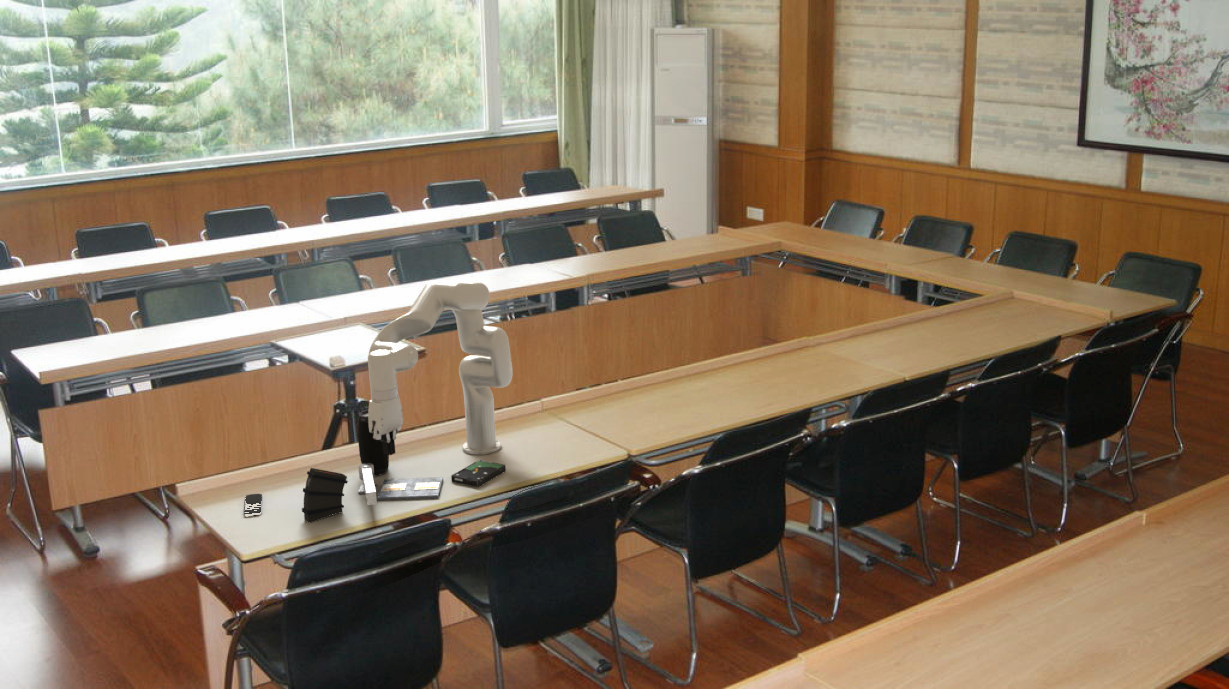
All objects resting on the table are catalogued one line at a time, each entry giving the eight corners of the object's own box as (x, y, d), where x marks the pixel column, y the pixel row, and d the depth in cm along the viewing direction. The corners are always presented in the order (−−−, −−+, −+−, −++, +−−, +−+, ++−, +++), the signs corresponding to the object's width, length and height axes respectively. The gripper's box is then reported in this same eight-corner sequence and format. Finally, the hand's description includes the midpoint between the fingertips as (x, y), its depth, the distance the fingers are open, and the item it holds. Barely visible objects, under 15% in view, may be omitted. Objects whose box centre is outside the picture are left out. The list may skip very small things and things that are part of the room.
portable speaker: (395, 468, 379) (391, 410, 373) (377, 479, 371) (372, 419, 366) (374, 464, 383) (369, 406, 377) (355, 474, 375) (350, 415, 369)
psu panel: (384, 482, 368) (384, 478, 368) (443, 480, 369) (442, 476, 368) (377, 500, 355) (376, 496, 355) (438, 498, 355) (437, 494, 355)
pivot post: (361, 487, 365) (360, 475, 364) (377, 486, 365) (376, 475, 364) (358, 494, 360) (357, 482, 359) (375, 493, 360) (374, 481, 359)
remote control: (261, 518, 347) (262, 496, 361) (261, 512, 347) (261, 491, 360) (244, 520, 346) (245, 498, 360) (243, 515, 346) (244, 493, 359)
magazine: (292, 517, 341) (308, 467, 341) (332, 523, 350) (348, 474, 350) (298, 521, 338) (314, 470, 338) (338, 527, 347) (354, 478, 347)
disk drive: (478, 489, 362) (506, 472, 375) (478, 481, 362) (506, 464, 374) (451, 483, 367) (479, 466, 380) (450, 475, 367) (479, 458, 379)
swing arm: (373, 473, 364) (372, 462, 363) (379, 503, 342) (378, 491, 341) (359, 475, 363) (358, 464, 362) (364, 505, 341) (363, 493, 340)
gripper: (392, 384, 348) (397, 443, 353) (356, 398, 336) (361, 459, 341) (411, 387, 344) (416, 447, 349) (376, 402, 332) (381, 464, 337)
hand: (389, 453), depth 345 cm, fingers closed
